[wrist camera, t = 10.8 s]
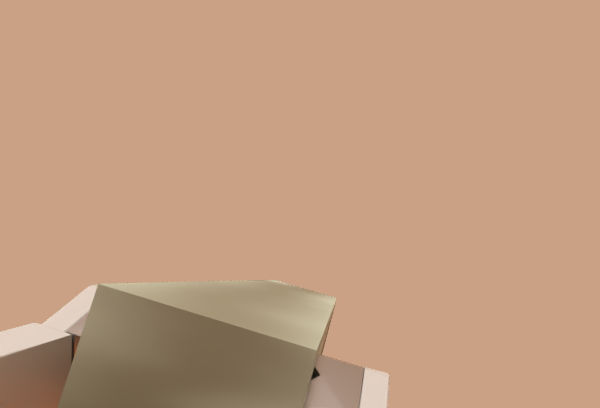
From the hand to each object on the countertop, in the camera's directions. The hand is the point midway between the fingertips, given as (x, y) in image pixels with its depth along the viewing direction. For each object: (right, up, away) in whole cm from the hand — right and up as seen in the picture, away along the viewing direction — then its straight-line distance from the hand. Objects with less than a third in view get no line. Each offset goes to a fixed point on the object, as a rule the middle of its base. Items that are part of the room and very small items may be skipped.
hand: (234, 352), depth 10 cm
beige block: (0, -3, +6) cm, 7 cm away
